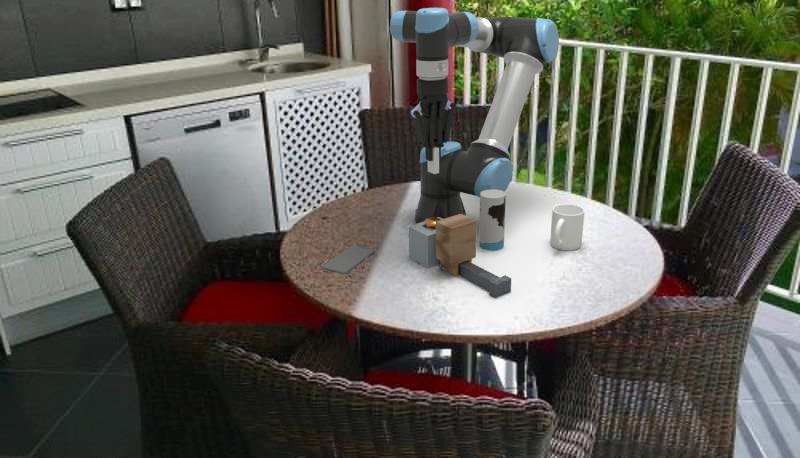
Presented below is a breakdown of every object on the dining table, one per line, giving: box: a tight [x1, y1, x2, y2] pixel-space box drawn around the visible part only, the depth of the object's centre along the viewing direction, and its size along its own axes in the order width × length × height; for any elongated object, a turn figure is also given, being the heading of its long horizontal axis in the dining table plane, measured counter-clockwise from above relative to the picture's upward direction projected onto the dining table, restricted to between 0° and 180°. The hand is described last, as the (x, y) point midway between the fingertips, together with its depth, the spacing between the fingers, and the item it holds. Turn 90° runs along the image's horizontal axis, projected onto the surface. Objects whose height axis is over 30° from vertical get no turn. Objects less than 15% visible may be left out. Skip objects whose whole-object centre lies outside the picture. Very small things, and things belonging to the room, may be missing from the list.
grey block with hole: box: [407, 217, 442, 269], centre depth 177 cm, size 8×10×9 cm
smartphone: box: [321, 244, 376, 275], centre depth 179 cm, size 8×1×15 cm
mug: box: [550, 203, 585, 251], centre depth 181 cm, size 12×8×10 cm
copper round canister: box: [425, 217, 441, 231], centre depth 176 cm, size 4×4×7 cm
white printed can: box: [478, 189, 507, 252], centre depth 182 cm, size 7×7×15 cm
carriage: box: [436, 214, 478, 276], centre depth 170 cm, size 6×8×13 cm
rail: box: [438, 260, 512, 299], centre depth 167 cm, size 22×5×4 cm, turn 36°
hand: (433, 172), depth 170 cm, fingers closed
